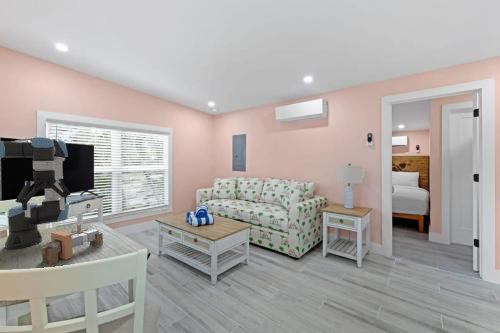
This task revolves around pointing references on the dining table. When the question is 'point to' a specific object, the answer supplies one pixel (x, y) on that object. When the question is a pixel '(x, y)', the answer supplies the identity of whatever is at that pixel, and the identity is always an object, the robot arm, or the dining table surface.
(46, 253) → the stand
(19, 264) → the dining table surface
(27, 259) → the dining table surface
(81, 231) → the pipe connector
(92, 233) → the grey long bar
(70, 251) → the peach rectangular loop
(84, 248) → the dining table surface
